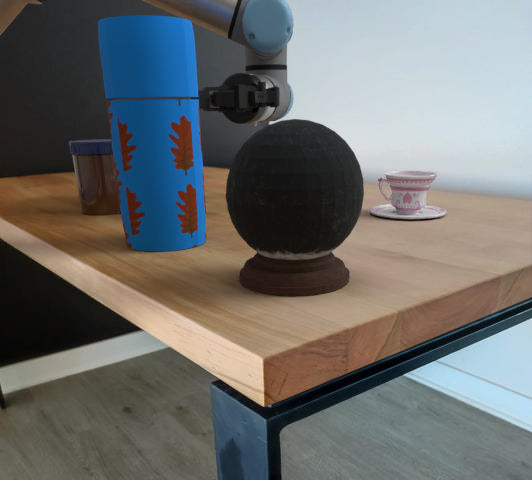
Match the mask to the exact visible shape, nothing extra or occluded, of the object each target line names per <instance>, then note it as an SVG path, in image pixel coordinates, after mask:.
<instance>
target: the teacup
mask: <svg viewBox="0 0 532 480" xmlns="http://www.w3.org/2000/svg"><path fill="white" fill-rule="evenodd" d="M439 175H440V173H439V172H436V171H430V170H429V171H428V170H393V171H385V172H383V176H384V177H385V178H382V177H380V178H378V179H377V181H378V189H379V192H380V194H381V195H382V196H383V198H384V199H385V200H386V201H388V202H390V203H389V204H387V203H386V204H379V205H375V206H372V207H370V209H369V213H370V214H371V215H373V216H377V217H382V218H388V219H393V220H394V219H396V220H425V219H426V220H427V219H435V218H440V217H443V216H445V215H447V210H446V209H445V208H442V207H440V206H436V205H428V204H427V193H428V192H429V190H430V188H431V184H432V183H433V182H434V181H435V180H436V179H437V177H438V176H439ZM383 183H387V184H388V185H389V187H390V189H391V195H390V197H388V196H387V194H385V192H384V190H383V187H382V184H383Z"/></svg>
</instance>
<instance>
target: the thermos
mask: <svg viewBox="0 0 532 480" xmlns="http://www.w3.org/2000/svg"><path fill="white" fill-rule="evenodd" d="M97 33H98V34H97V35H98V36H97V39H98V40H97V41H98V48H99V55H100V64H101V71H102V77H103V78H102V79H103V86H104V95H105V99H106V110H107V118H108V125H109V131H110V133H109V134H110V139H111V141H112V149H113V157H114V165H115V172H116V180H117V188H118V196H119V203H120V211H121V213H120V217H121V222H122V223H121V224H122V229H123V233H124V237H125V238H124V239H125V244H126V246H127V248H130V249H131V250H135V251H140V252H141V251H142V252H172V251H173V252H174V251H175V252H176V251H181V250H187V249H192V248H196V247H199V246H202V245H203V244H205V243H206V241H207V208H206V207H207V206H206V192H205V191H206V190H205V177H204V162H203V159H204V158H203V147H202V145H203V144H202V130H201V116H200V115H201V114H200V113H201V112H200V109H199V100H198V99H191V98H192V97H198V91H199V84H198V82H199V81H198V70H197V69H198V67H197V52H196V51H197V50H196V39H195V32H194V27H193V23H192V22H191V21H190V20H187V19H183V18H181V17H178V16H176V17H175V16H170V15H169V16H166V15H141V14H139V15H137V14H136V15H135V14H134V15H119V16H118V15H117V16H111V17H105V18H102V19H99V20H98V22H97Z"/></svg>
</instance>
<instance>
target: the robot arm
mask: <svg viewBox="0 0 532 480" xmlns="http://www.w3.org/2000/svg"><path fill="white" fill-rule="evenodd" d="M141 1H142V2H144V3H147V4H148V5H151V6H154V7H156V8H158V9H161V10H163V11H165V12H167V13H170V14H172V15H174V16H176V17H178V18H183V19H187V20H190V21H191V22H192V24H194V25H197V26H199V27H201V28H203V29H206V30H209V31H211V32H213V33H215V34H218V35H219V36H222V37H224V38H226V39H228V40H231V41H232V42H235V43H236V44H239V45H241V46H244V60H245V61H244V62H245V69H244V70H245V73H244V72H236V73H232V74H231V75H229V76H228V77H226V78H225V79H224V80H223V82H222V83H221V84H219V85H217V86H203V87H201V88H200V89H201V90H200V89H198V97H192V98H191V99H198V100H199V110H203V112H218V113H222V114H223V115H224V117H225V118H226V119H227V120H228V121H230V122H231V123H233V124H237V125H238V124H239V125H246V124H251V127H257V126H258V123H270V122H277V121H278V120H279V121H280V120H282V119H283V118H285V117H286V116H287V115H288V114H289V113H290V111H291V110H292V108H293V106H294V105H293V104H294V92H293V89H292V87H291V85H290V84H289V81H288V58H287V57H288V44H289V42H290V41H291V39H292V37H293V34H294V16H293V12H292V9H291V7H290V5H289V3H288V1H286V0H141ZM44 2H45V0H0V36H1V35H2V34H3V33H4V32H5V31H6V30H7V28H8V27H9V26H10V25H11V23H12V22H13V21H14V20H15V19H16V17H18V15H19V14H20V13H21V12H22V11H23V10H24V9H25V7H26V6H27V5H29V4H33V5H41V4H43V3H44Z"/></svg>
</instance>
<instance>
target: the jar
mask: <svg viewBox="0 0 532 480" xmlns="http://www.w3.org/2000/svg"><path fill="white" fill-rule="evenodd" d="M72 162H73V168H74V174H75V180H76V186H77V187H76V188H77V192H78V193H77V194H78V200H79V206H80V212H81V214H82V215H86V216H100V215H99V214H110V215H112V214H111V213H117V214H119V213H118V212H121V211H120V203H119V196H118V188H117V180H116V172H115V165H114V157H113V153H104V154H72Z"/></svg>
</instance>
